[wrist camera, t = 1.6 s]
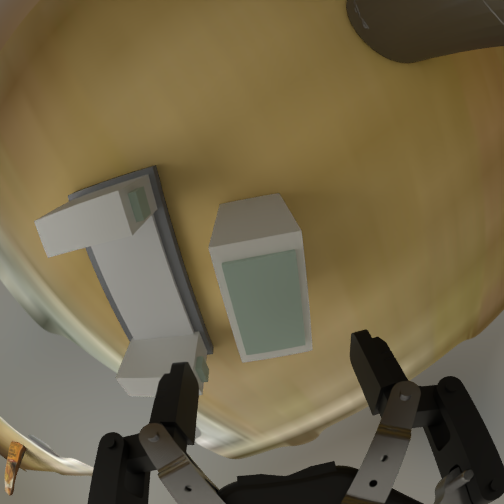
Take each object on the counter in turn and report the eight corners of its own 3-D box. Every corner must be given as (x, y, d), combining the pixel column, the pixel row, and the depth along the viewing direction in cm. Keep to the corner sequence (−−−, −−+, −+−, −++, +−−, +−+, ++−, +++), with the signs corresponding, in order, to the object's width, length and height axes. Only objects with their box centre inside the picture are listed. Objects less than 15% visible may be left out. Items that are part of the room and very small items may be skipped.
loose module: (279, 192, 23) (302, 232, 14) (292, 284, 26) (313, 353, 18) (219, 204, 23) (207, 250, 14) (241, 293, 27) (242, 365, 18)
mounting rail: (157, 164, 21) (124, 179, 15) (214, 347, 29) (210, 397, 23) (73, 193, 21) (28, 216, 15) (142, 354, 30) (127, 398, 23)
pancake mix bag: (32, 451, 58) (16, 500, 33) (20, 448, 61) (5, 491, 36) (20, 442, 55) (2, 491, 30) (9, 440, 59) (-8, 483, 33)
